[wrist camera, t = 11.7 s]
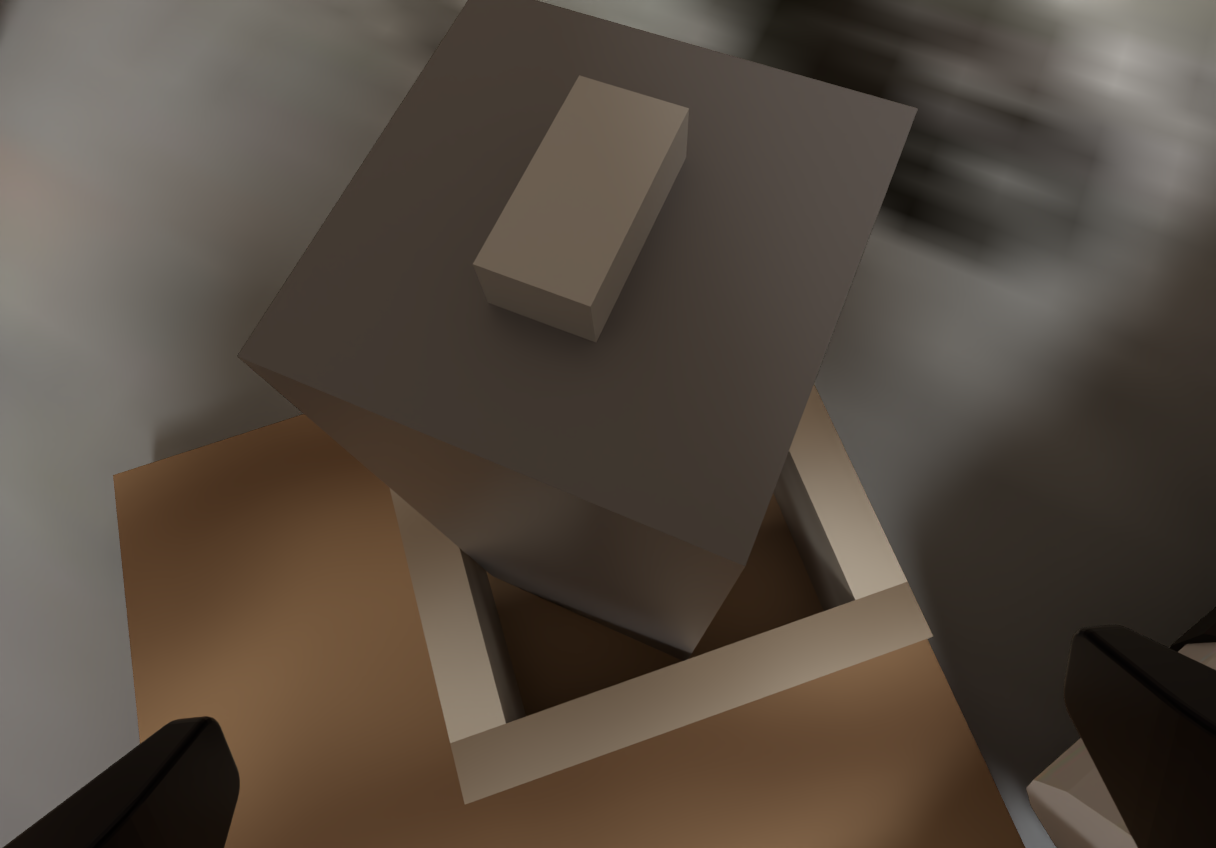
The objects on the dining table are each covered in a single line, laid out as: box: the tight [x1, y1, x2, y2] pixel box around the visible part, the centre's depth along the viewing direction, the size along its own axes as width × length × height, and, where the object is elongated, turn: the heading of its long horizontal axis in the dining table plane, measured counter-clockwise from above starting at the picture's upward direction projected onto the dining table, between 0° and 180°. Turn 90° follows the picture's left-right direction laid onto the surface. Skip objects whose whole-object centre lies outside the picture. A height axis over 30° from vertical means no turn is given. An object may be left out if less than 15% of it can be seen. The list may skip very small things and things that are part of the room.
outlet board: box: [113, 385, 1025, 848], centre depth 15 cm, size 20×16×4 cm
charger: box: [237, 0, 917, 661], centre depth 12 cm, size 4×4×12 cm
